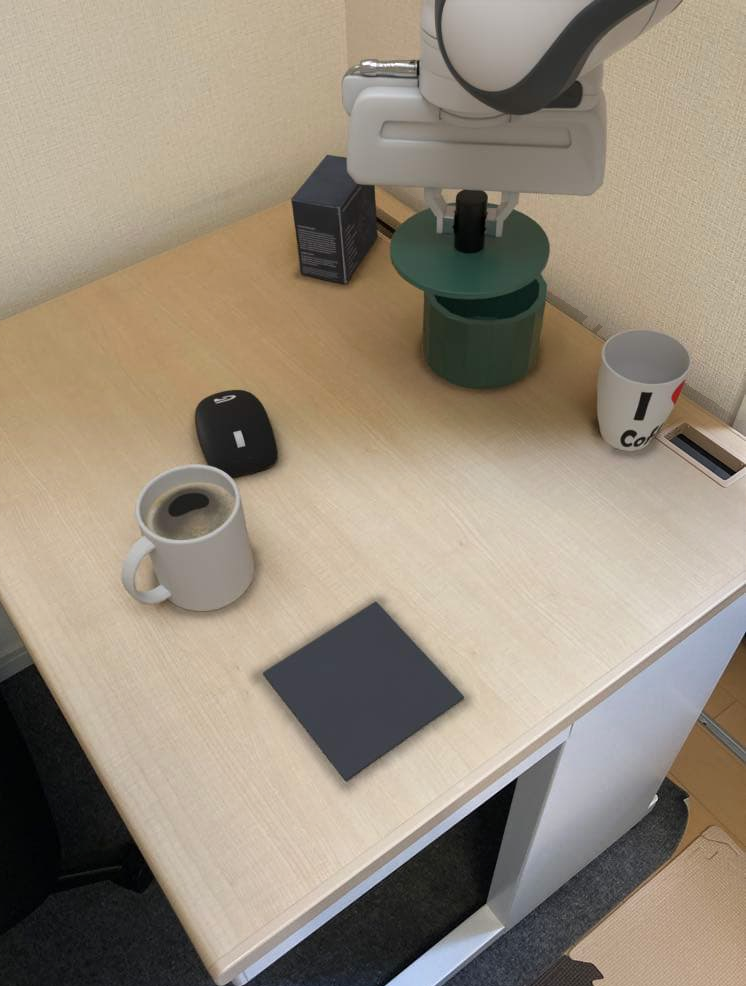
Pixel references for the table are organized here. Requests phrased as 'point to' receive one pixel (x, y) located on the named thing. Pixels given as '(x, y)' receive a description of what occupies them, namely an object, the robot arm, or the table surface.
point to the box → (333, 221)
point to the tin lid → (469, 251)
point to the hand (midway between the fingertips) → (470, 231)
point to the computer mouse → (235, 433)
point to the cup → (639, 385)
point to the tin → (484, 336)
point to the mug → (191, 539)
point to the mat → (362, 689)
